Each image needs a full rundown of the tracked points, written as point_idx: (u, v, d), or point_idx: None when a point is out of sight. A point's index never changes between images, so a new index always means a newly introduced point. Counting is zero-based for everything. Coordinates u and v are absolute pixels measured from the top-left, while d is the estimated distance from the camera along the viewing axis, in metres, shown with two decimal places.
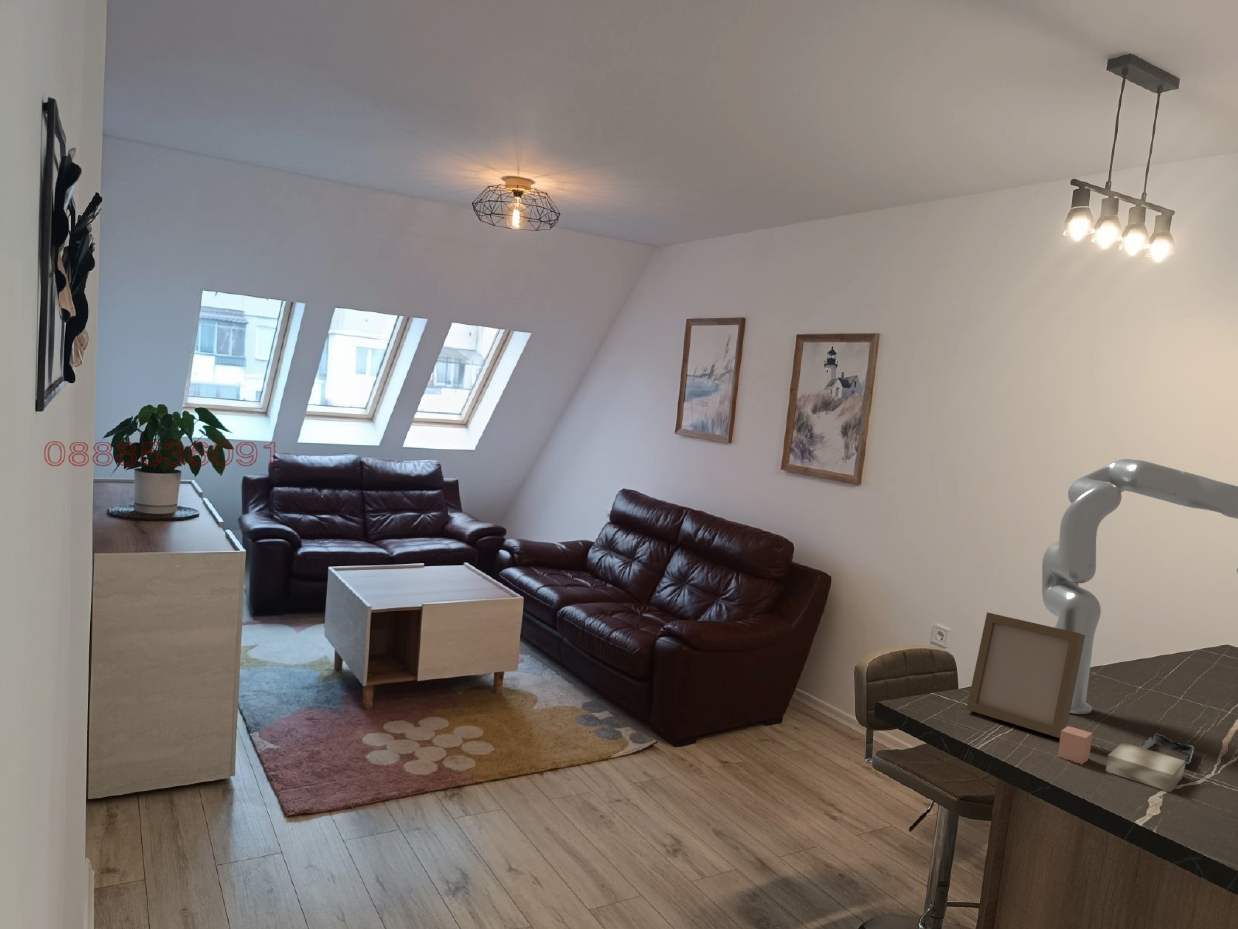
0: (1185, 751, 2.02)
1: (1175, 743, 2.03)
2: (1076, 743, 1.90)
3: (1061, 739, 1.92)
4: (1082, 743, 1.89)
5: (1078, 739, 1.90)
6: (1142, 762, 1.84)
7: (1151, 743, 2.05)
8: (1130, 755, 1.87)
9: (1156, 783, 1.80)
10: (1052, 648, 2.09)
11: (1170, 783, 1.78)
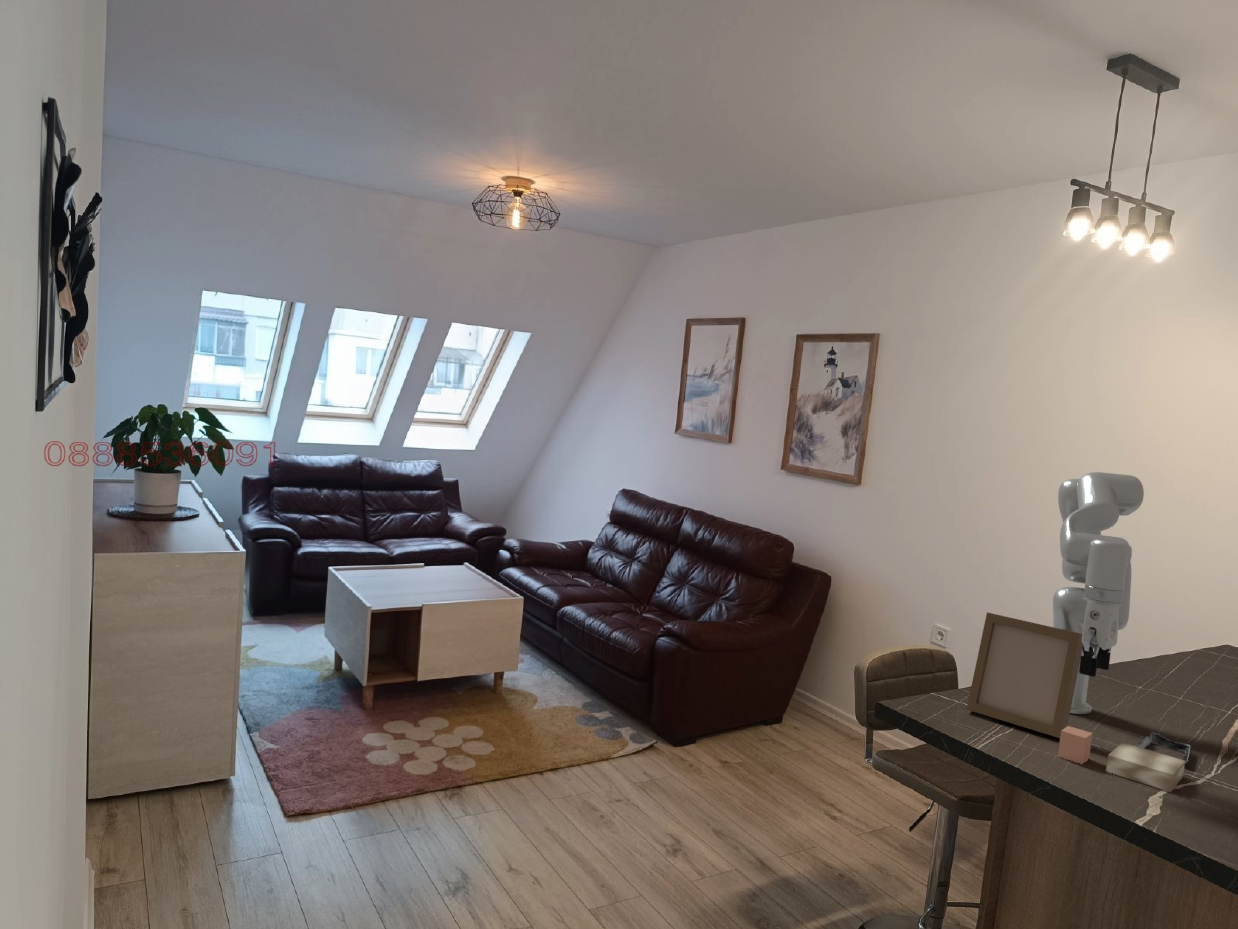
0: (1181, 750, 2.03)
1: (1171, 742, 2.04)
2: (1076, 743, 1.90)
3: (1061, 739, 1.92)
4: (1081, 743, 1.89)
5: (1078, 739, 1.90)
6: (1142, 762, 1.84)
7: (1148, 742, 2.05)
8: (1130, 755, 1.87)
9: (1156, 782, 1.80)
10: (1052, 648, 2.09)
11: (1170, 783, 1.78)
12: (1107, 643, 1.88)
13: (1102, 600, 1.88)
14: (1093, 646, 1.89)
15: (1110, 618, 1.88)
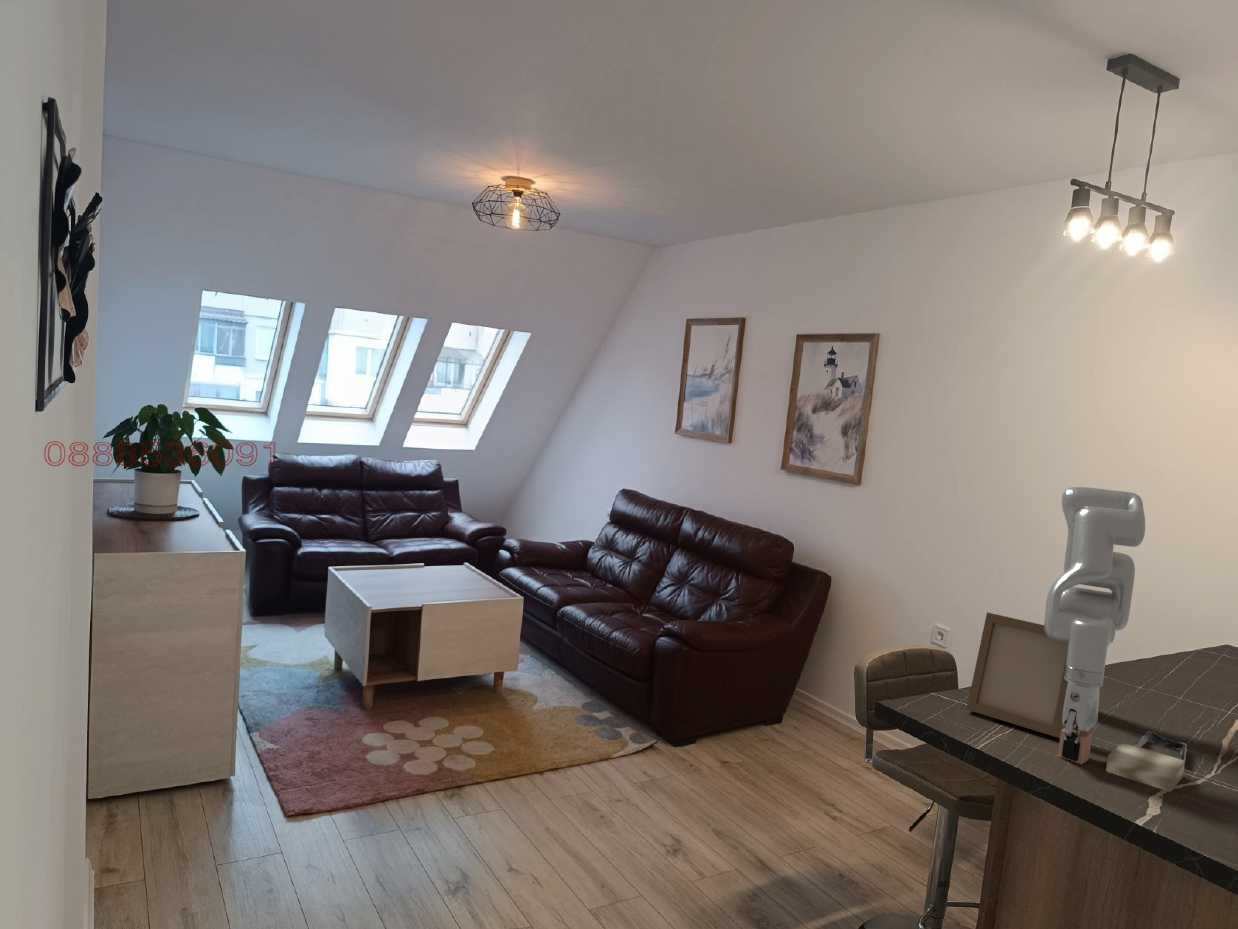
0: (1177, 748, 2.03)
1: (1167, 741, 2.04)
2: None
3: (1061, 739, 1.92)
4: (1081, 742, 1.89)
5: None
6: (1142, 762, 1.84)
7: (1144, 741, 2.05)
8: (1130, 755, 1.87)
9: (1156, 782, 1.80)
10: (1052, 648, 2.09)
11: (1170, 783, 1.78)
12: (1087, 725, 1.88)
13: (1082, 682, 1.88)
14: (1075, 730, 1.89)
15: (1090, 700, 1.87)
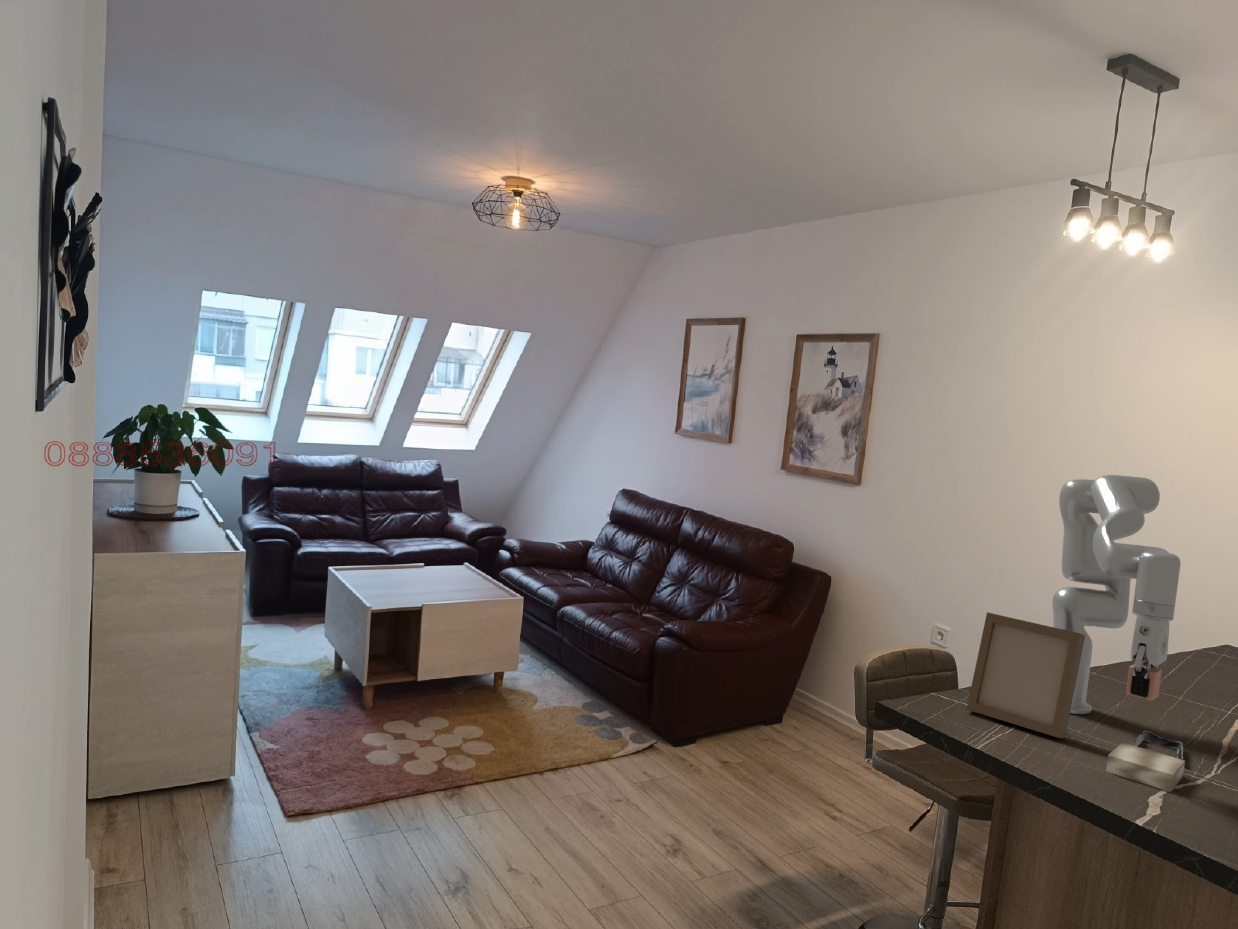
0: (1173, 747, 2.04)
1: (1164, 740, 2.05)
2: None
3: (1129, 675, 1.86)
4: (1151, 678, 1.83)
5: None
6: (1142, 762, 1.84)
7: (1140, 740, 2.06)
8: (1130, 755, 1.87)
9: (1156, 783, 1.80)
10: (1052, 648, 2.09)
11: (1170, 783, 1.78)
12: (1158, 659, 1.82)
13: (1153, 615, 1.82)
14: (1144, 665, 1.83)
15: (1160, 634, 1.81)
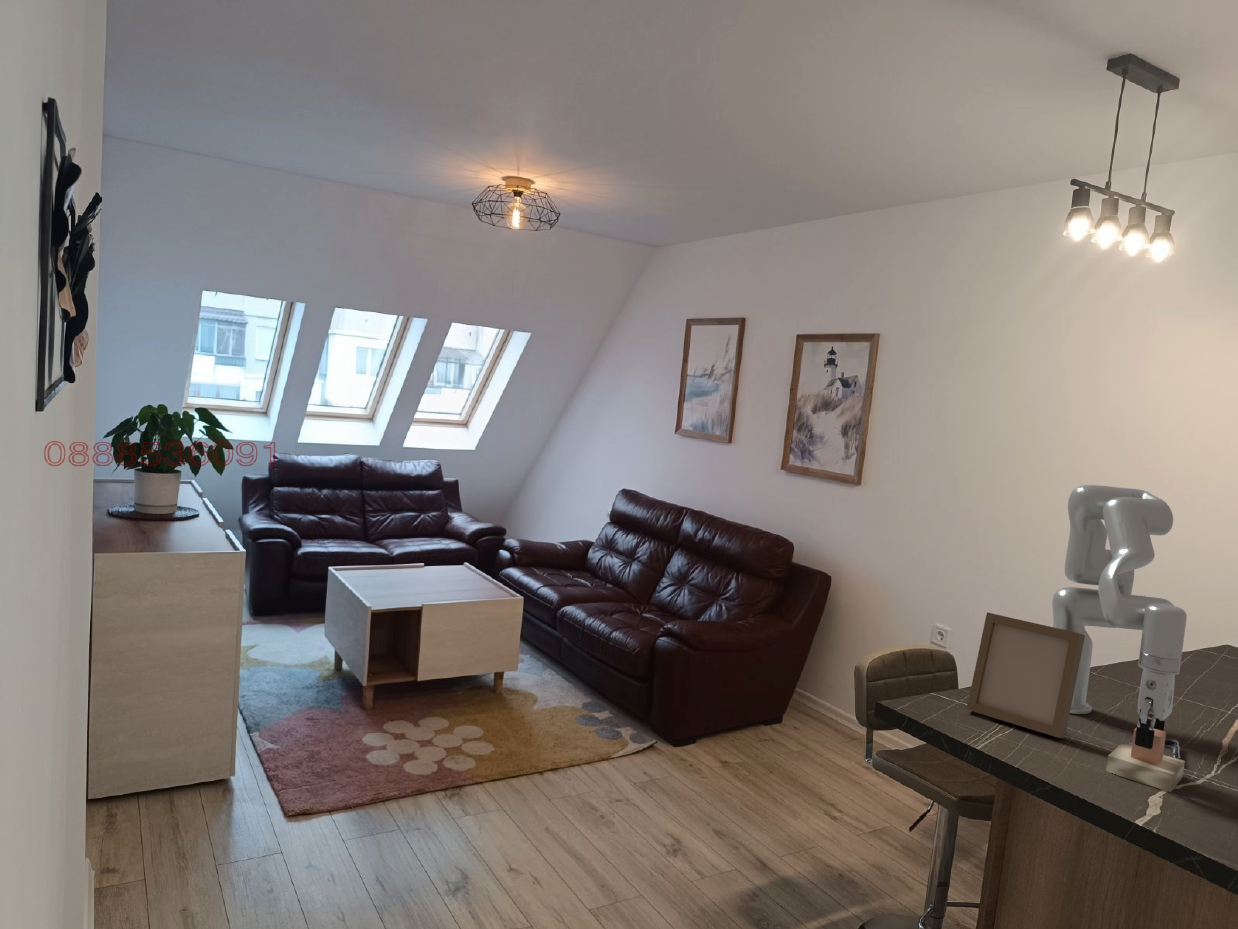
0: (1169, 746, 2.05)
1: None
2: None
3: (1134, 738, 1.86)
4: (1156, 742, 1.83)
5: None
6: (1142, 762, 1.84)
7: None
8: (1130, 756, 1.87)
9: (1156, 783, 1.80)
10: (1052, 648, 2.09)
11: (1170, 783, 1.78)
12: (1164, 714, 1.81)
13: (1159, 669, 1.82)
14: (1150, 717, 1.82)
15: (1167, 688, 1.81)
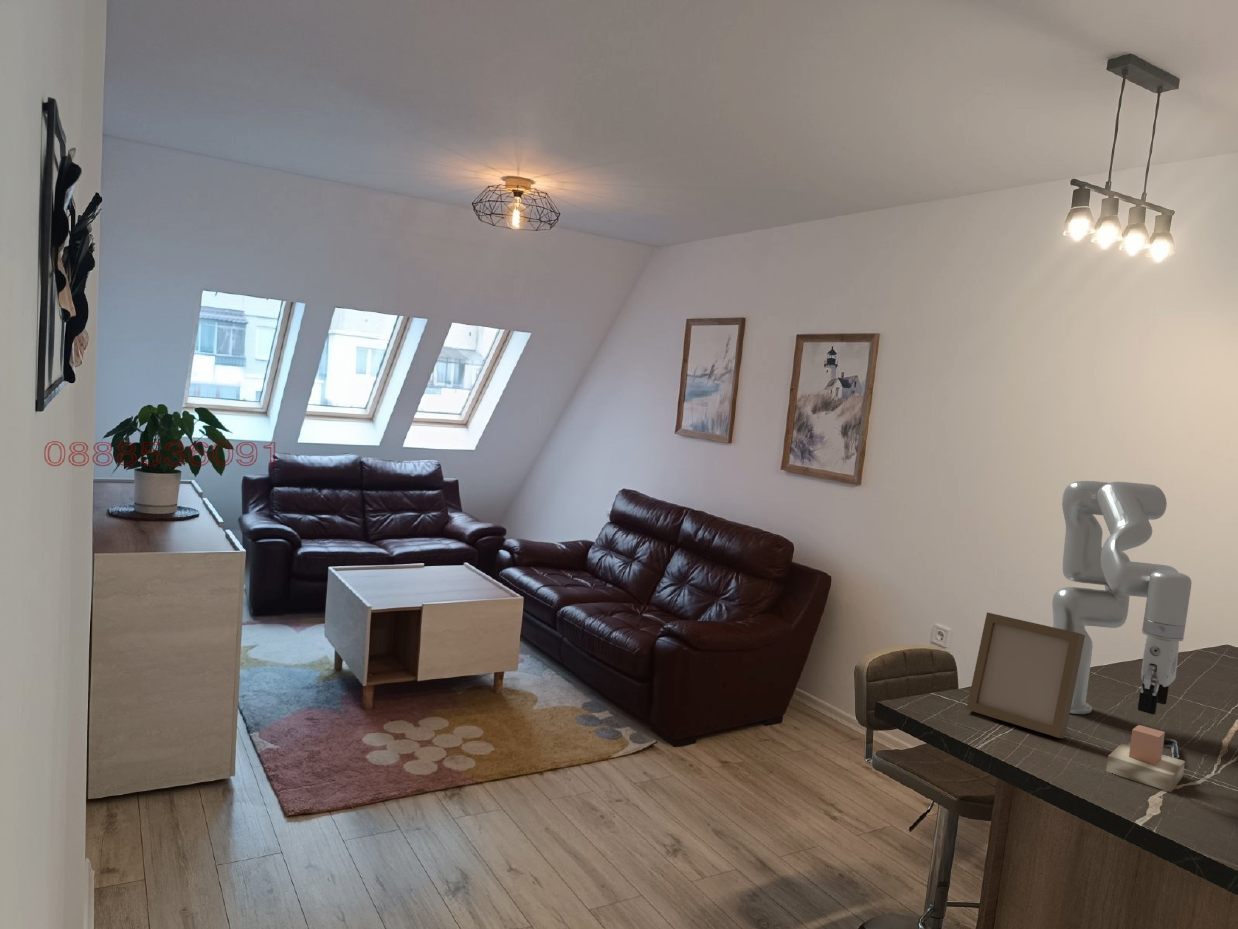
0: (1167, 745, 2.05)
1: None
2: (1148, 743, 1.84)
3: (1132, 738, 1.86)
4: (1155, 742, 1.83)
5: (1151, 738, 1.84)
6: (1142, 762, 1.84)
7: None
8: None
9: (1156, 783, 1.80)
10: (1052, 648, 2.09)
11: (1170, 783, 1.78)
12: (1168, 680, 1.81)
13: (1163, 636, 1.81)
14: (1153, 683, 1.82)
15: (1171, 654, 1.81)
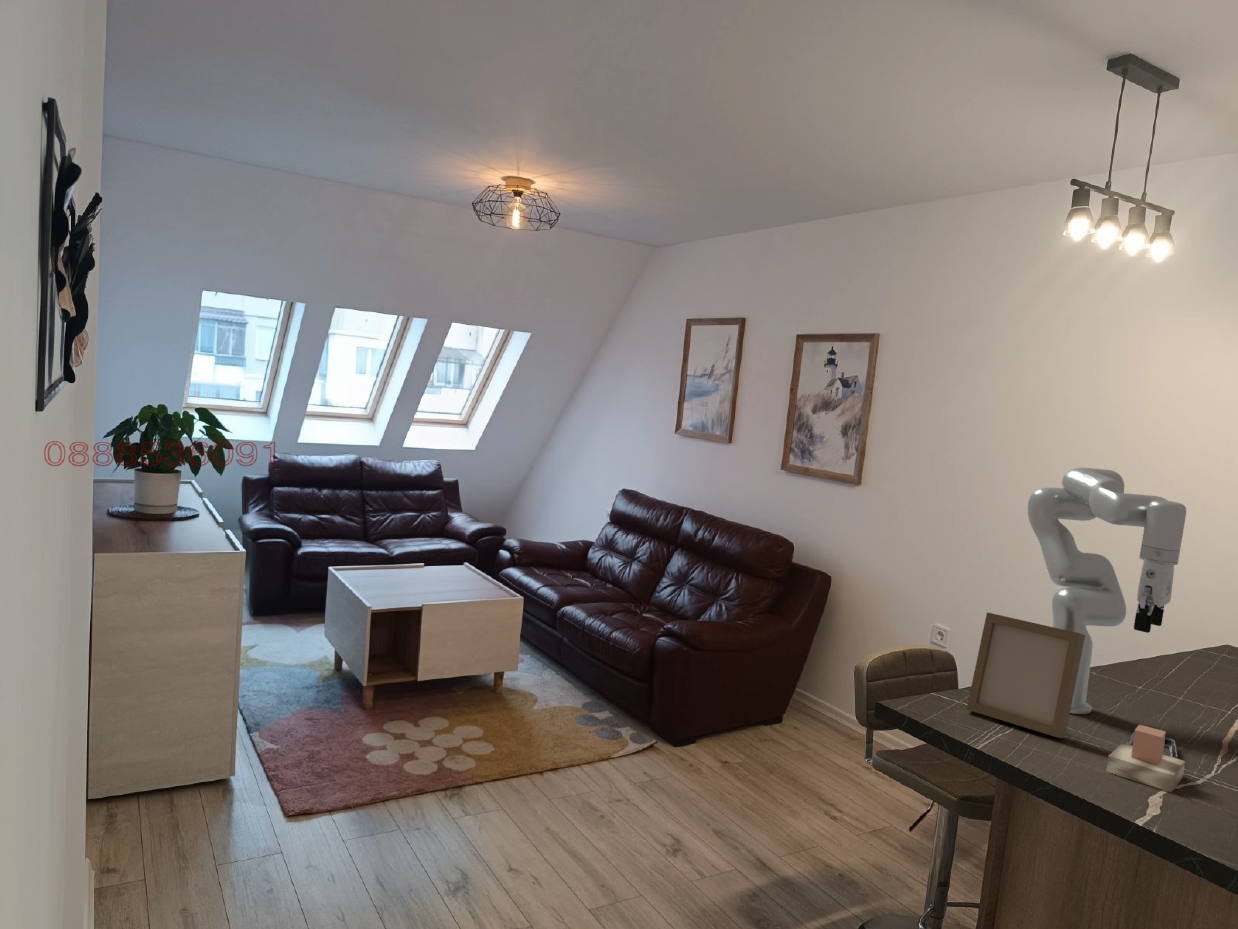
0: (1165, 745, 2.05)
1: None
2: (1151, 743, 1.84)
3: (1135, 739, 1.86)
4: (1157, 742, 1.83)
5: (1153, 738, 1.84)
6: (1143, 762, 1.84)
7: (1133, 738, 2.07)
8: None
9: (1156, 783, 1.80)
10: (1052, 648, 2.09)
11: (1171, 783, 1.78)
12: (1162, 601, 1.95)
13: (1159, 559, 1.95)
14: (1148, 603, 1.96)
15: (1166, 577, 1.94)
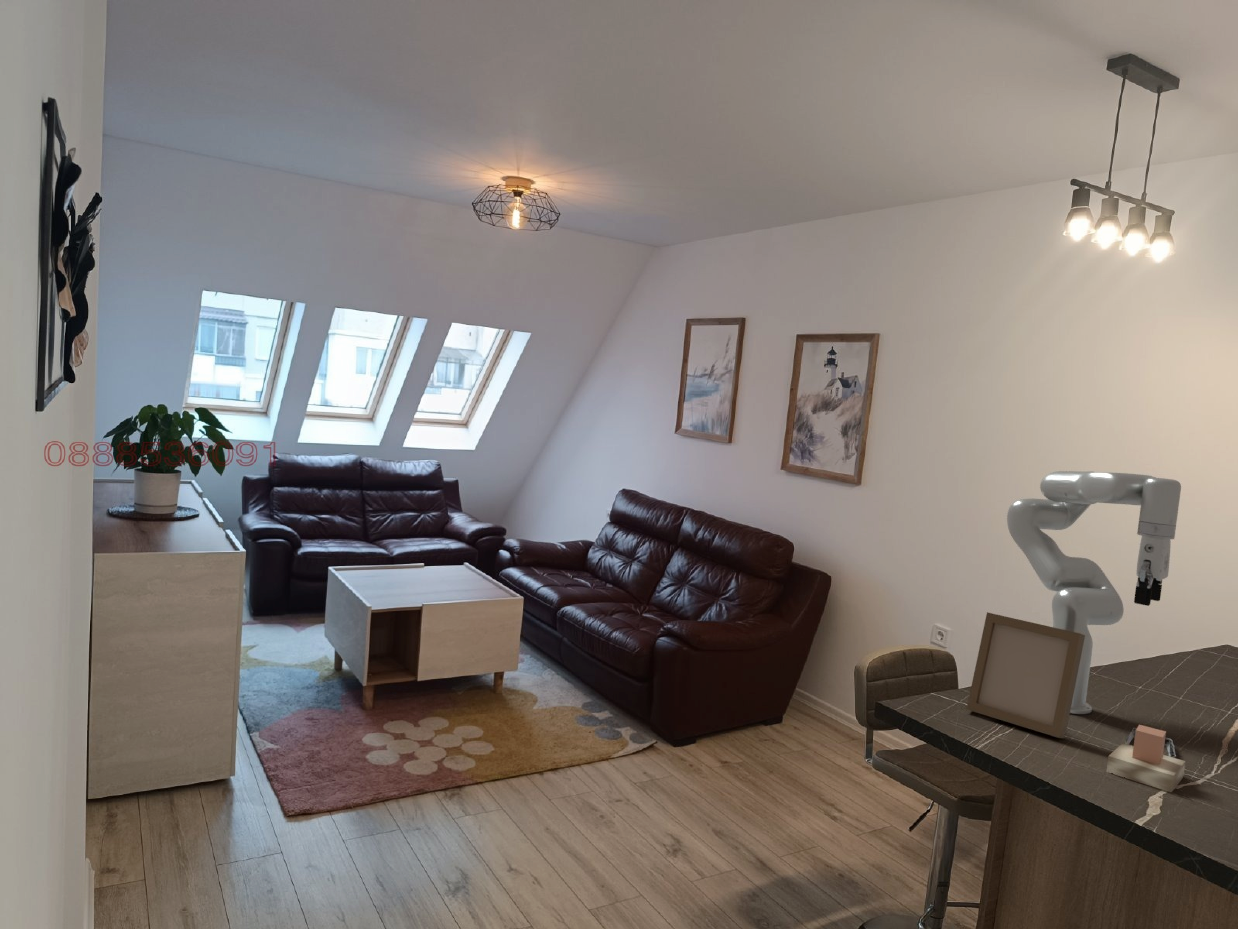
0: None
1: None
2: (1152, 743, 1.84)
3: (1136, 739, 1.86)
4: (1158, 742, 1.83)
5: (1154, 738, 1.84)
6: (1143, 762, 1.84)
7: (1131, 738, 2.07)
8: (1131, 756, 1.87)
9: (1156, 783, 1.80)
10: (1052, 648, 2.09)
11: (1171, 784, 1.78)
12: (1161, 574, 2.01)
13: (1156, 534, 2.01)
14: (1147, 577, 2.02)
15: (1163, 551, 2.01)
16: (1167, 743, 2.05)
